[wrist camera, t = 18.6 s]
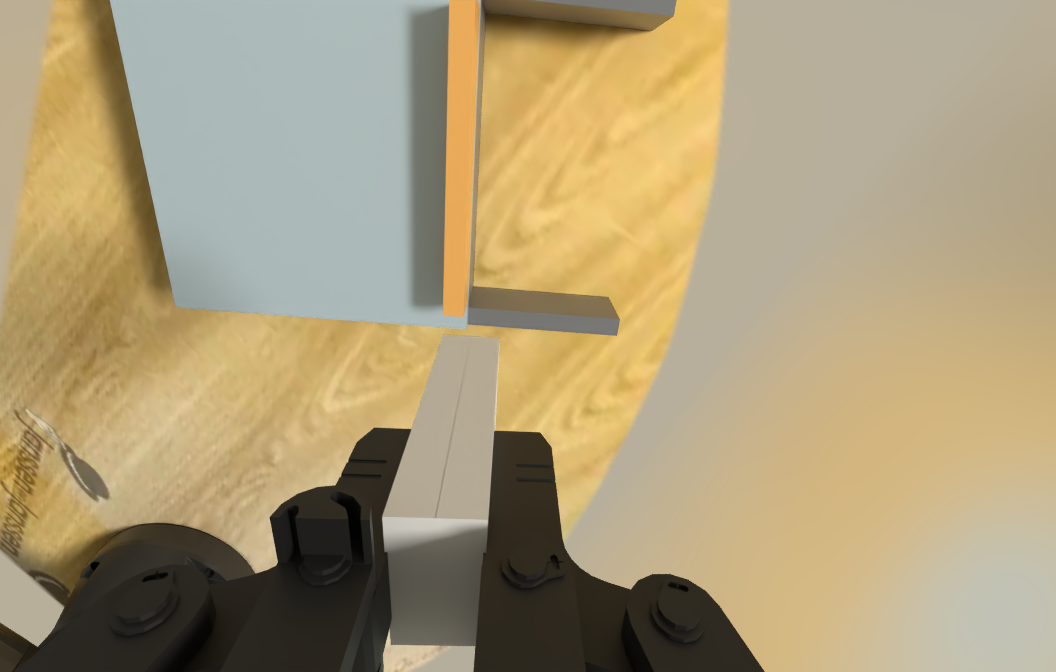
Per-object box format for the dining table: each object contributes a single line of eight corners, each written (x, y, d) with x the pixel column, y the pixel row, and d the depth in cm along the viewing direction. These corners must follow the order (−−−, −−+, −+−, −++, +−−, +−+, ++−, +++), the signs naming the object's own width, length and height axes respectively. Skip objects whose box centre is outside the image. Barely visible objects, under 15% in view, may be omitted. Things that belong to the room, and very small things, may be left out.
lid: (183, 303, 32) (148, 322, 29) (105, -77, 24) (44, -106, 21) (467, 324, 33) (462, 345, 29) (482, -34, 25) (477, -56, 22)
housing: (222, 282, 36) (183, 302, 32) (165, -47, 28) (104, -77, 24) (606, 311, 37) (616, 335, 33) (655, 7, 29) (678, -12, 25)
